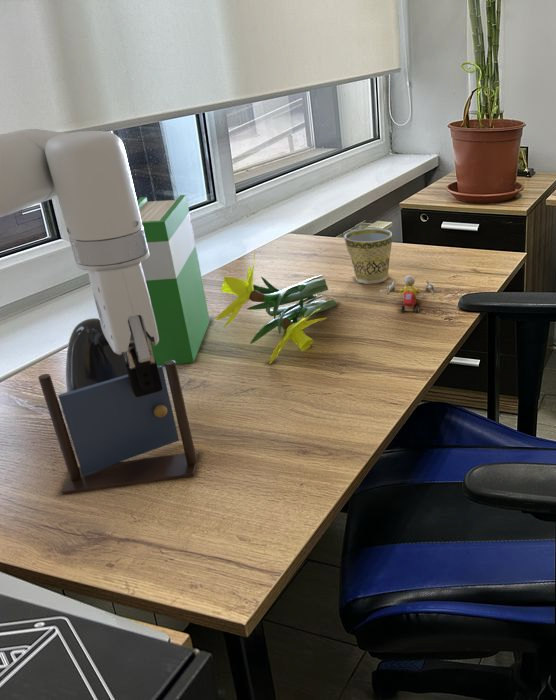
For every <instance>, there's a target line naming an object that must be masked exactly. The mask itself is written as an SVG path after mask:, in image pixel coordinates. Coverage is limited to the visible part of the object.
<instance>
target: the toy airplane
mask: <svg viewBox="0 0 556 700" xmlns="http://www.w3.org/2000/svg"><path fill="white" fill-rule="evenodd" d="M415 281H416V280H415V277H414V276H412V275H406V276H405V277H404V279H403V282H404V284H405V286H404V287H403V288H399V289H396V286H395V283H396V281H395V280H392V283H390V284H387V287H386V289H379V293H380V294H382V293H383V294H386V296H389V295H390V294H400V295H401V296H403V299H402V304H403V305H401V311H400V312H401V314H402V313H405V312H414V311H415V313H419V310H420V308H419V305H417V296H421V297H422V296H424V295H425V294H431V296H435V294H442V289H435V287H434V285H433V284H432V283H430V282H429V280H428V279H427V280H425V282H426V285H425V289H421V288H418V289H417V288H416V287H415V286H414V285H415ZM414 306H415V307H414Z"/></svg>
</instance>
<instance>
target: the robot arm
mask: <svg viewBox="0 0 556 700" xmlns="http://www.w3.org/2000/svg"><path fill="white" fill-rule="evenodd" d="M128 161H129V160H128V156H127V152H126V149H125V145H124V143H123V140H122V139H121V138H120V137H119V136H118V135H117V134H115V133H113V132H110V131H105V130H84V131H74V132H73V131H72V132H61V131H54V130H48V129H41V128H39V129H38V128H28V129H20V130H16V131H11V132H7V133H1V134H0V218H4V217H6V216H9V215H12V214H15V213H17V212H20V211H21V210H24V209H27V208H29V207H32V206H34V205H37V204H41V203H44V202H48V201H50V200H53V199H56V198H57V201H58V204H59V208H60V210H61V215H62V219H63V221H64V225H65V228H66V231H67V236H68V238H69V243H70V246H71V250H72V255H73V257H74V261H75V265H76V267H77V268H78V269H79V270H82V271H87V274H88V279H89V283H90V287H91V291H92V295H93V299H94V303H95V307H96V311H97V315H98V319H100V324H101V328H102V331H103V334H104V336H105V338H106V340H107V341H108V343H109V345H110V347H111V348H112V350H113V352H114V353H116V354H118V355H121V354H122V352H123V353H124V357H125V360H126V362H128V363H127V364H125V366H126V370H127V373H128V377H129V381H130V384H131V388H132V391H133V393H134V395H135V396H136V397H141V396H145V395H148V394H152V393H155V392H159V391H161V390H162V384H161V380H160V376H159V372H158V368H157V364H156V361H155V360H154V356H153V351H152V347H151V343H152V344H153V345H154V346H156V345H157V344H158V342H159V336H158V330H157V326H156V321H155V316H154V312H153V308H152V304H151V300H150V296H149V292H148V288H147V284H146V279H145V276H144V273H143V269H142V265H141V262H142V261H144V260H146V259H147V258H148V257H149V255H150V254H149V250H148V246H147V241H146V237H145V233H144V229H143V225H142V221H141V217H140V212H139V208H138V203H137V200H138V199H137V195H136V192H135V186H134V182H133V178H132V174H131V169H130V166H129V162H128ZM150 341H151V342H150Z"/></svg>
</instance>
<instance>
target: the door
mask: <svg viewBox="0 0 556 700" xmlns="http://www.w3.org/2000/svg"><path fill="white" fill-rule="evenodd" d="M157 368H158V372H159V376H160V380H161V384H162V390H161V391H159V392H155V393H152V394H148V395H145V396H141V397H136V396H135V395H134V393H133V391H132V388H131V384H130V381H129V377H128V374H127V375H124V376H121V377H117V378H114V379H110V380H107V381H104V382H100V383H97V384H93V385H90V386H87V387H83V388H80V389H77V390H73V391H70V392H67V391H66V392H64V393H60V394H58V395H57V398H58V399H59V400H58V401H59V404H60V408H61V409H62V410H61V411H62V414H63V417H64V421H65V424H66V427H67V431H68V434H69V437H70V440H71V444H72V447H73V450H74V453H75V457H76V460H77V463H78V466H79V467H80V469H81V472H82V474H83V475H85V474H88V473H90V472H93V471H96V470H99V469H101V468H104V467H107V466H110V465H113V464H115V463H118V462H124V461H127V460H130V459H132V458H135V457H138V456H140V455H143V454H146V453H148V452H152V451H154V450H156V449H159V448H163V447H165V446H168V445H171V444H173V443H176V442H179V441H180V439H179V433H178V431H177V430H178V429H177V426H176V421H175V417H174V413H173V412H174V411H173V408H172V404H171V399H170V395H169V389H168V386H167V380H166V377H165V372H164V367H163V365H158V366H157Z"/></svg>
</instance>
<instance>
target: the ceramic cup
mask: <svg viewBox="0 0 556 700" xmlns="http://www.w3.org/2000/svg"><path fill="white" fill-rule="evenodd" d="M343 238H344V242H345V246H346V250H347V253H348V255H349V257H350V260H351V261H350V262H351V265H352V268H353V273H354V276H355V279H356V282H357V283H360V284H365V285H371V284H373V285H374V284H381V283H383V282H384V281H386V280H388V276H389V269H390V258H391V252H392V245H393V233H392V230H391V229H385V228H376V227H369V228H360V229H354V230H351V231H348V232H347V233H345V234H344V236H343Z"/></svg>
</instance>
